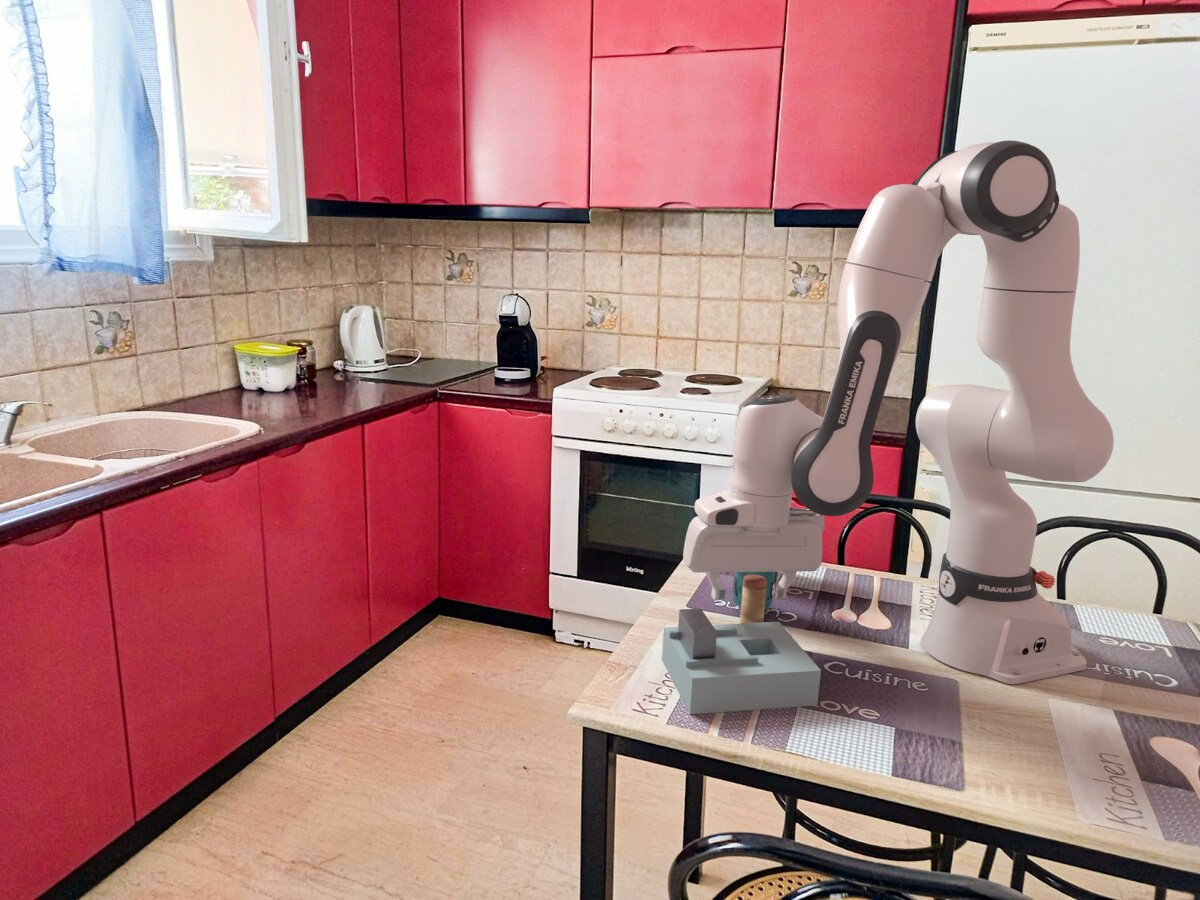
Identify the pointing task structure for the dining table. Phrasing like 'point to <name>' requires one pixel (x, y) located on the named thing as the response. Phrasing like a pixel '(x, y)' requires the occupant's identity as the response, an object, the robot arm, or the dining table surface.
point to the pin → (753, 599)
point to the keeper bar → (697, 634)
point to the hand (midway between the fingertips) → (748, 598)
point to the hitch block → (743, 670)
